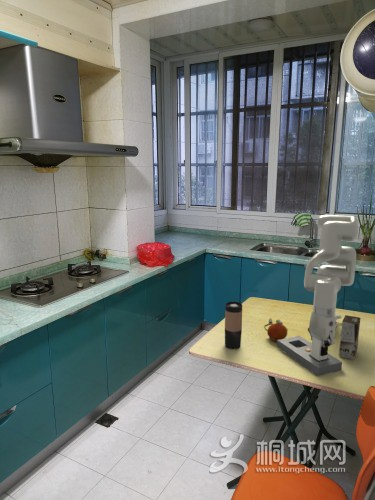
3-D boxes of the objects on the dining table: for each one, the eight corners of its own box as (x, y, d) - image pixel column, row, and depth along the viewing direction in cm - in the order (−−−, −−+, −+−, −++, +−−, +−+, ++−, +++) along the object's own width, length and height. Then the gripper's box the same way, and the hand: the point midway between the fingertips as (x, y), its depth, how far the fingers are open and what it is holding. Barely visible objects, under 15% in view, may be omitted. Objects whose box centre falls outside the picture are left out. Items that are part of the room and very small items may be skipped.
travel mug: (242, 343, 168) (244, 302, 164) (239, 350, 161) (240, 308, 157) (226, 340, 170) (227, 300, 166) (222, 348, 163) (223, 306, 159)
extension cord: (292, 325, 189) (292, 321, 189) (282, 336, 176) (282, 332, 176) (269, 320, 196) (270, 316, 195) (258, 330, 183) (259, 327, 182)
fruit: (289, 339, 173) (290, 323, 171) (280, 345, 166) (281, 328, 165) (273, 333, 179) (274, 318, 177) (263, 339, 173) (264, 323, 171)
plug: (319, 352, 152) (321, 326, 149) (329, 359, 147) (331, 331, 144) (308, 355, 150) (310, 328, 147) (318, 361, 145) (320, 334, 142)
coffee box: (354, 360, 153) (358, 324, 150) (338, 356, 157) (341, 321, 153) (357, 351, 161) (361, 317, 157) (342, 347, 164) (345, 314, 161)
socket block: (298, 342, 169) (298, 334, 168) (341, 369, 146) (342, 361, 145) (277, 347, 164) (277, 339, 164) (318, 376, 141) (318, 367, 140)
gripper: (346, 316, 138) (342, 360, 142) (315, 302, 153) (312, 342, 157) (331, 319, 135) (327, 364, 139) (301, 304, 150) (298, 345, 154)
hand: (319, 352), depth 148 cm, fingers closed on plug, 4 cm apart
